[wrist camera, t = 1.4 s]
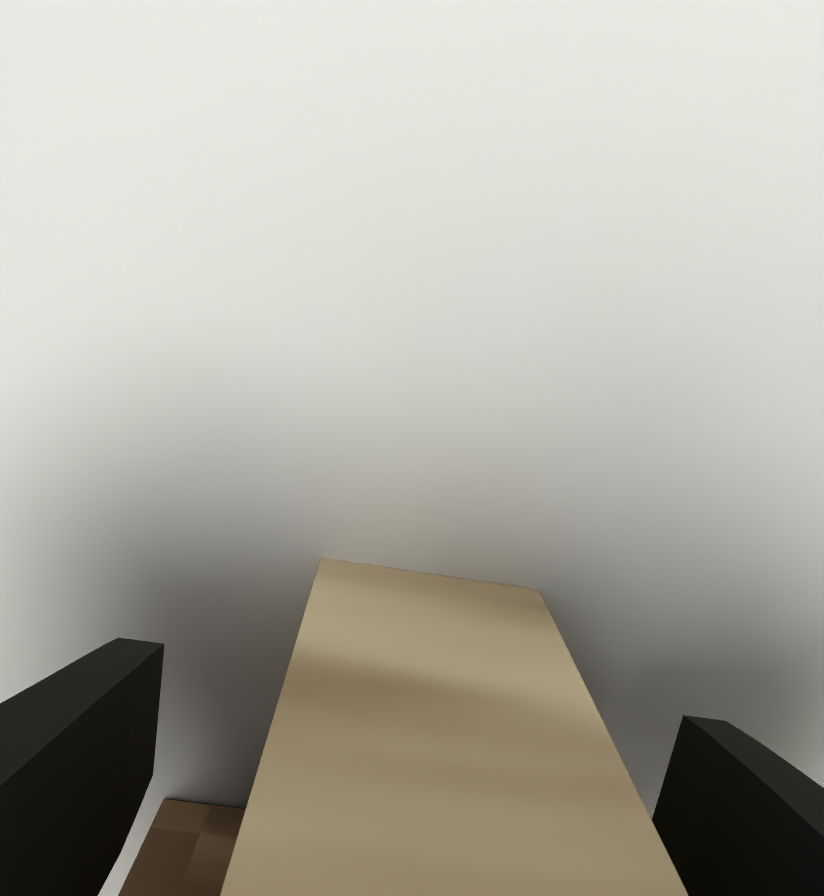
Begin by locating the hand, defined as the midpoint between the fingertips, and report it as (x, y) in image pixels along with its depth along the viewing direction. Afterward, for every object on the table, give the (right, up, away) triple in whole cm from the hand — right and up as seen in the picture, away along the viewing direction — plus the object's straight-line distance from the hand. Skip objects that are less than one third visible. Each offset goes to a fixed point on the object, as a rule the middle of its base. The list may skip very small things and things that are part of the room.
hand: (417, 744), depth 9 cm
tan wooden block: (0, 0, +2) cm, 2 cm away
